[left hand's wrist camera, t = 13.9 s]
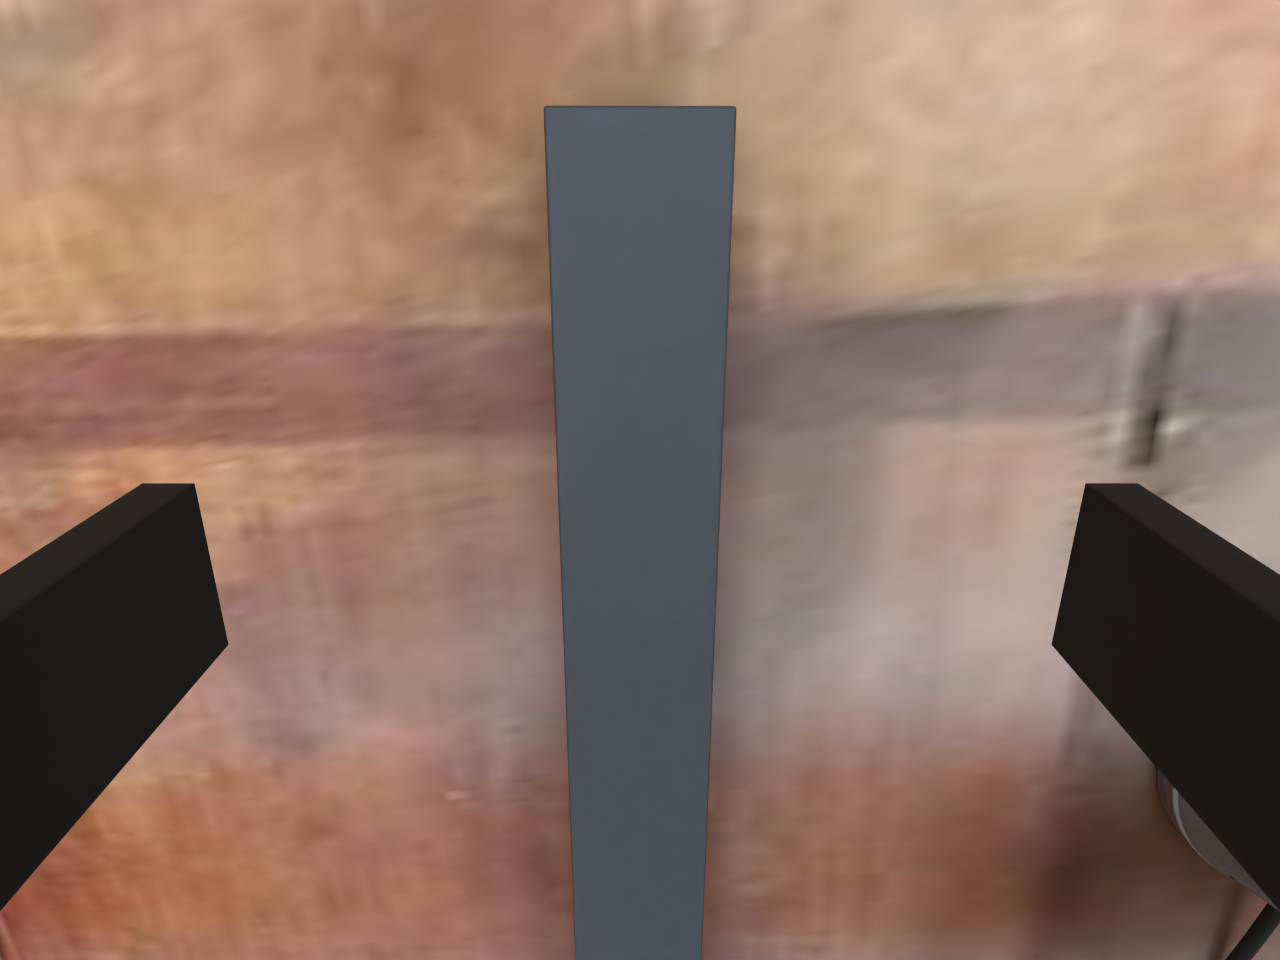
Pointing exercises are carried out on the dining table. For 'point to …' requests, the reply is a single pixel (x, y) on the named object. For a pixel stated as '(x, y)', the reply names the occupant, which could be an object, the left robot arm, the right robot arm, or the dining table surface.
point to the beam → (639, 503)
